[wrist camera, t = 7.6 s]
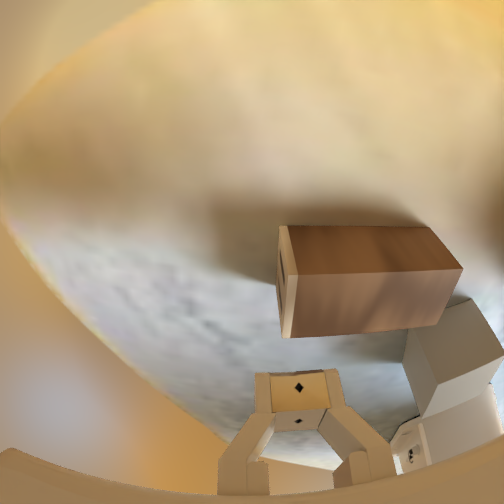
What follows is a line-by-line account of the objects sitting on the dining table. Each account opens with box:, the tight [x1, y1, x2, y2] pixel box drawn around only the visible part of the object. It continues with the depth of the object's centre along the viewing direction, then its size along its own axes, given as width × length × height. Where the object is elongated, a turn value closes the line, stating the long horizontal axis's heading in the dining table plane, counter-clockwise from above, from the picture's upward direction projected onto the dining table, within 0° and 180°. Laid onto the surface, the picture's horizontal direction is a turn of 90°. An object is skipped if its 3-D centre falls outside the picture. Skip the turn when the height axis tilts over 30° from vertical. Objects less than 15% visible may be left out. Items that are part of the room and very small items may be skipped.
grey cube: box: [402, 299, 504, 419], centre depth 19 cm, size 6×6×6 cm
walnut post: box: [276, 226, 463, 338], centre depth 15 cm, size 4×4×9 cm
